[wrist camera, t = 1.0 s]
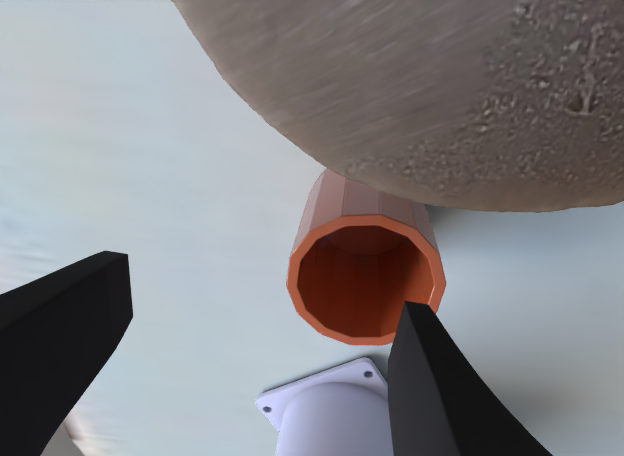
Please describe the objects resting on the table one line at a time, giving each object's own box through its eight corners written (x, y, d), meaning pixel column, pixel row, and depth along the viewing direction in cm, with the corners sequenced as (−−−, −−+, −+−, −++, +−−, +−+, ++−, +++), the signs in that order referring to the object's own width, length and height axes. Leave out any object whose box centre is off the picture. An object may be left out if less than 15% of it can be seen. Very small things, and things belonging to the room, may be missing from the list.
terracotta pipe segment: (443, 229, 21) (471, 314, 15) (342, 273, 23) (333, 364, 17) (392, 131, 19) (402, 186, 13) (287, 187, 21) (256, 256, 15)
